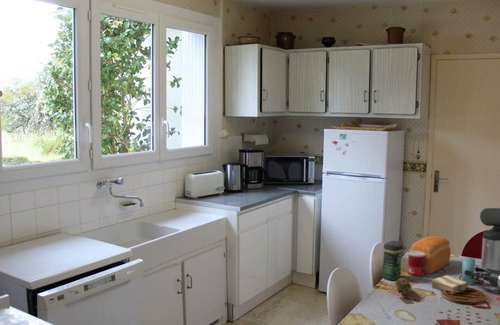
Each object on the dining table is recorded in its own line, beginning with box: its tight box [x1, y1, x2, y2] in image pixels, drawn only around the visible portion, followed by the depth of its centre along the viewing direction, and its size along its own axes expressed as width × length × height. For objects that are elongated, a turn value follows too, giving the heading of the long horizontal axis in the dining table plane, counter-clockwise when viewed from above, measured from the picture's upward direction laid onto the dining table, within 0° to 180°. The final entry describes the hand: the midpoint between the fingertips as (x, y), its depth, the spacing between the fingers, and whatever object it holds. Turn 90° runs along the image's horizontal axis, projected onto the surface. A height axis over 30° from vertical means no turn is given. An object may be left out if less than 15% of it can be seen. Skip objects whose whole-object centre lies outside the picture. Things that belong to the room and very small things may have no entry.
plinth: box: [431, 275, 468, 292], centre depth 230 cm, size 11×11×4 cm
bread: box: [409, 235, 451, 274], centre depth 262 cm, size 14×26×16 cm, turn 137°
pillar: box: [461, 257, 476, 286], centre depth 237 cm, size 6×6×12 cm
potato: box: [394, 277, 413, 296], centre depth 222 cm, size 8×13×8 cm, turn 140°
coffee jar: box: [381, 239, 403, 281], centre depth 243 cm, size 10×8×19 cm
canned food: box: [407, 251, 425, 277], centre depth 250 cm, size 8×8×11 cm
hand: (470, 270), depth 236 cm, fingers open, 8 cm apart
